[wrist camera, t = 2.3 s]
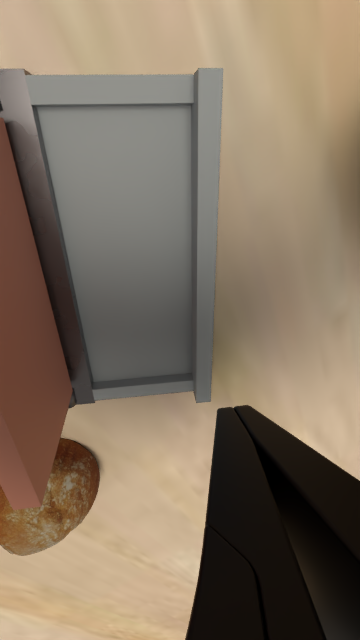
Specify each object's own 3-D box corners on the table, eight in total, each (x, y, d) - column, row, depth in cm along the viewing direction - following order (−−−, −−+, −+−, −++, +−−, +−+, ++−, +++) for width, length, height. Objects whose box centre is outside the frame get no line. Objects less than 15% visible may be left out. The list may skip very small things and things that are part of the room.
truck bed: (207, 83, 15) (223, 68, 12) (202, 372, 24) (210, 401, 21) (38, 84, 14) (14, 68, 12) (97, 381, 23) (92, 413, 20)
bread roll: (58, 473, 33) (76, 555, 28) (-58, 492, 26) (-61, 606, 21) (102, 415, 30) (132, 496, 25) (-17, 417, 23) (-10, 533, 18)
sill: (37, 78, 14) (19, 65, 12) (98, 383, 23) (94, 407, 21) (-13, 78, 14) (-40, 66, 12) (68, 386, 23) (61, 411, 21)
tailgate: (3, 118, 13) (-138, 86, 6) (72, 390, 20) (41, 506, 14) (-35, 118, 13) (-220, 87, 6) (49, 392, 20) (6, 510, 13)
